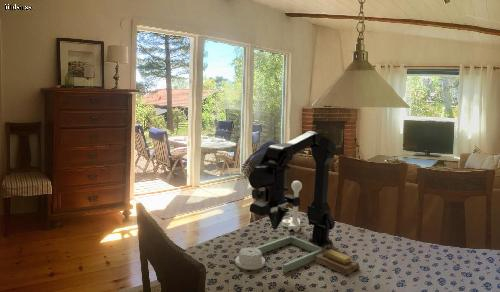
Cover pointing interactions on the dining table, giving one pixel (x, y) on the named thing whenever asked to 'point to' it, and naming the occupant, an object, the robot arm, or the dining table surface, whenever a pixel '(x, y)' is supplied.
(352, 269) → the rectangular frame
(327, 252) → the block
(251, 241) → the dining table surface
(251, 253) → the mechanical component
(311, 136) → the robot arm
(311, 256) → the green u-shaped frame
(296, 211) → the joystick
